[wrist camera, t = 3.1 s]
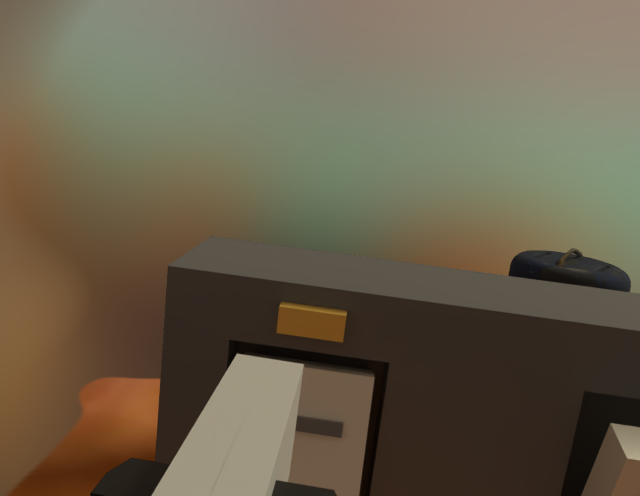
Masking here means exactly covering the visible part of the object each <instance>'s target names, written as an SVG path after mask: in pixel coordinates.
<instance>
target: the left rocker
mask: <svg viewBox="0 0 640 496" xmlns="http://www.w3.org/2000/svg"><path fill="white" fill-rule="evenodd" d="M243 355H249V356H255V357H261V358H268V359H274V360H280V361H287V362H293V363H300V364H304V368H303V375H302V383H301V390H300V398H299V406H298V413H297V421H296V428H295V436H294V443H293V451H292V459H291V466H290V474H289V479H288V482H290V483H296V484H302V485H308V486H314V487H320V488H326V489H332V490H334V491H335V493H336V495H337V496H359V492H360V484H361V477H362V469H363V462H364V454H365V446H366V439H367V431H368V424H369V416H370V409H371V401H372V393H373V386H374V378H375V377H374V372H373V370H367V369H361V368H354V367H347V366H340V365H333V364H326V363H320V362H313V361H306V360H299V359H292V358H285V357H278V356H272V355H265V354H258V353H251V352H245V353H244V354H243Z"/></svg>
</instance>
